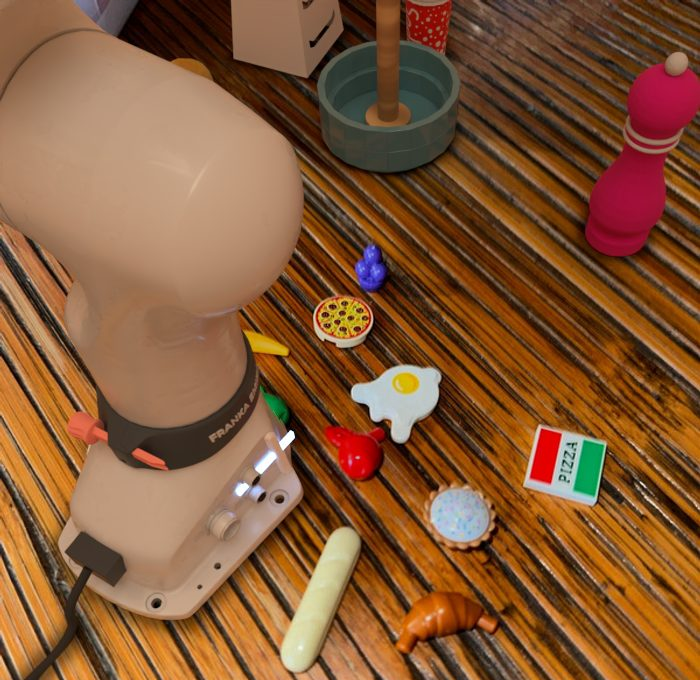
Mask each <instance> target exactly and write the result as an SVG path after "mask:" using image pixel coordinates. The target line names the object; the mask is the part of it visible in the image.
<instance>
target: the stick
mask: <svg viewBox="0 0 700 680" xmlns="http://www.w3.org/2000/svg"><path fill="white" fill-rule="evenodd" d="M375 6H376V7H375V11H376V13H375V14H376V18H375V19H376V20H375V21H376V41H377V103H375V104H373V105H372V106H371V107H370V108H369V109H368V110H367V112H366V115H365V120H366V125H370V126H381V127H394V126H402V125H409V124H411V113H410V110H409V109H408V108H407V107H406V106H405V105H404V104H402V103H400V102H399V56H400V40H401V0H375Z"/></svg>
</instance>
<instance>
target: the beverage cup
mask: <svg viewBox="0 0 700 680" xmlns="http://www.w3.org/2000/svg"><path fill="white" fill-rule="evenodd" d="M452 3H453V0H405V22H406V23H405V24H406V26H405V27H406V41H412V42H415V43H418V44H422V45H425V46H429V47H431V48H433V49H434V50H436V51H438V52H439V53H441V54H443V55H444V56H446V49H447V42H448V34H449V26H450V19H451V11H452Z"/></svg>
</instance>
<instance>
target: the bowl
mask: <svg viewBox="0 0 700 680" xmlns="http://www.w3.org/2000/svg"><path fill="white" fill-rule="evenodd" d="M316 90H317V91H316V92H317V102H318V103H317V104H318V116H319V123H320V124H319V125H320V131H321V132H320V133H321V138H322V141H323V142H324V143H325V145H326V146H327V148H328V149H329V151H330V153H332V154H333V155H334V156H335V157H337V158H338V159H340V160H341V161H343V162H344V163H345V164H348V165H350V166H352V167H355V168H357V169H361V170H363V171H368V172H374V173H383V174H385V173H386V174H391V173H400V172H406V171H409V170H413V169H416V168H419V167H421V166H423V165H425V164H428V163H431V162H432V161H433V160H434V159H436V158H437V157H438V156H440V155H441V154H443V153H445V151H446V150H447V148H448V147H449V146H450V145H451V143H452V141H453V140H454V139H455V136H456V130H457V124H458V115H459V114H458V113H459V104H460V95H461V94H460V93H461V79H460V77H459V73H458V70H457V67H456V66H455V65H454V64H453V63H452V61H450V59H449V58H448V57H447V56H446V55H445V56H444V55H443V54H441V53H439V52H438V51H436V50H434V49H433V48H431V47H429V46H425V45H422V44H418V43H415V42H412V41H407V40H401V39H400V56H399V102H400V103H402V104H404V105H405V106H406V107H407V108H408V109H409V110H410V113H411V124H409V125H402V126H394V127H381V126H370V125H366V120H365V115H366V112H367V110H368V109H369V108H370V107H371V106H372V105H373V104H375V103H377V40H374V41H366V42H364V43H360V44H357V45H353V46H352V47H348V48H347V49H345V50H344V51H342V52H340V53H339V54H337V55H335V56H334V57H333V58H331V59H330V60H329V61H328V62H327V64H326V65H325V66H324V67H323V69H322V70H321V71H320V75H319V77H318V80H317V83H316Z"/></svg>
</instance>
